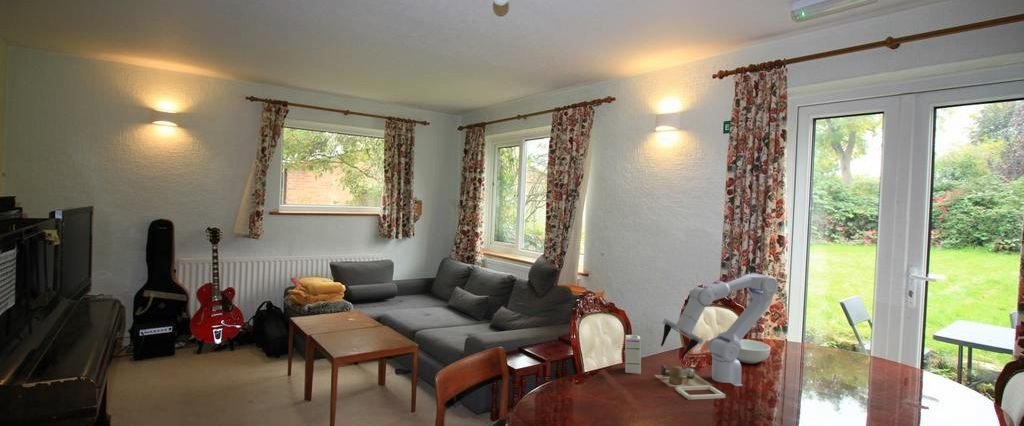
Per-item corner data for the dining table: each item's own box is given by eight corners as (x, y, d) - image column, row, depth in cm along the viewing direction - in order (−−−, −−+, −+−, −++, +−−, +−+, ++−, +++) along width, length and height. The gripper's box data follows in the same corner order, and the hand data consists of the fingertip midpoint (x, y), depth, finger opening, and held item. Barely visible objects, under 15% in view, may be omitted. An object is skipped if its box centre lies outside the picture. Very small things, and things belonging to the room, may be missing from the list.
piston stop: (678, 380, 179) (678, 365, 179) (684, 384, 174) (684, 369, 174) (666, 381, 178) (666, 365, 178) (672, 385, 174) (672, 369, 174)
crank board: (694, 377, 187) (694, 372, 187) (712, 389, 175) (712, 383, 175) (654, 379, 184) (654, 374, 184) (669, 390, 172) (669, 385, 172)
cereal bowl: (717, 357, 214) (717, 341, 214) (744, 353, 221) (744, 337, 221) (751, 369, 198) (751, 351, 198) (779, 364, 205) (779, 347, 205)
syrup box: (641, 377, 186) (641, 338, 186) (624, 376, 187) (625, 337, 187) (640, 372, 191) (640, 335, 191) (624, 371, 193) (625, 334, 193)
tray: (710, 392, 171) (710, 385, 171) (725, 402, 163) (725, 394, 163) (675, 394, 169) (675, 386, 169) (688, 404, 161) (688, 396, 161)
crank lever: (692, 374, 184) (692, 363, 184) (696, 377, 181) (696, 366, 181) (658, 375, 182) (659, 364, 182) (662, 378, 179) (663, 367, 179)
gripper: (671, 306, 177) (652, 340, 175) (710, 328, 171) (691, 363, 170) (670, 308, 183) (652, 341, 182) (708, 329, 178) (690, 362, 177)
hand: (671, 351), depth 176 cm, fingers open, 7 cm apart
